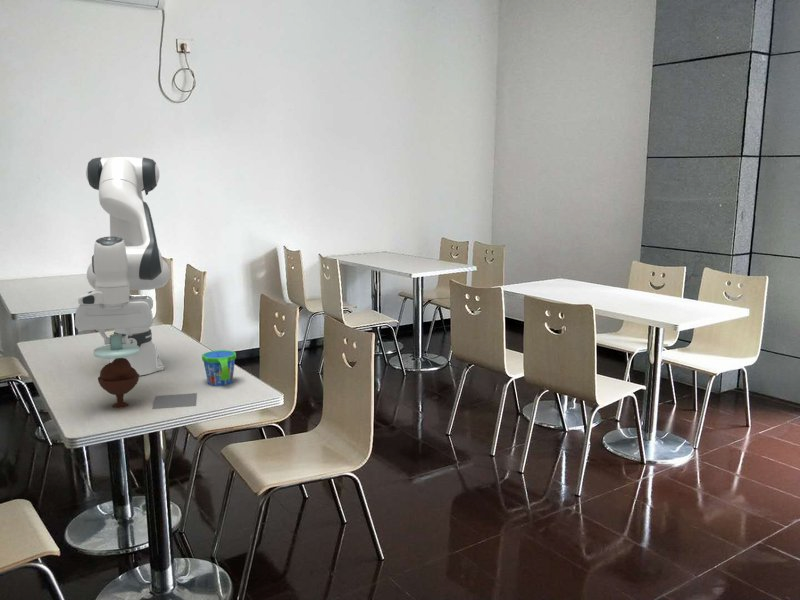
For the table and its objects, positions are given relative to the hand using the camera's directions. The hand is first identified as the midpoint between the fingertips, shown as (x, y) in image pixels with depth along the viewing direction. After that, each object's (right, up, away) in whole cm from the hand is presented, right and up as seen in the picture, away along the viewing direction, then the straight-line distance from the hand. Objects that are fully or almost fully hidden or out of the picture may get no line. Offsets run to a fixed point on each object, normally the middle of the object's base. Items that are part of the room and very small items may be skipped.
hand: (116, 343), depth 197 cm
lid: (0, -3, 0) cm, 3 cm away
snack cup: (+23, -15, +27) cm, 38 cm away
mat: (+14, -18, +8) cm, 24 cm away
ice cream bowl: (0, -19, +4) cm, 19 cm away
